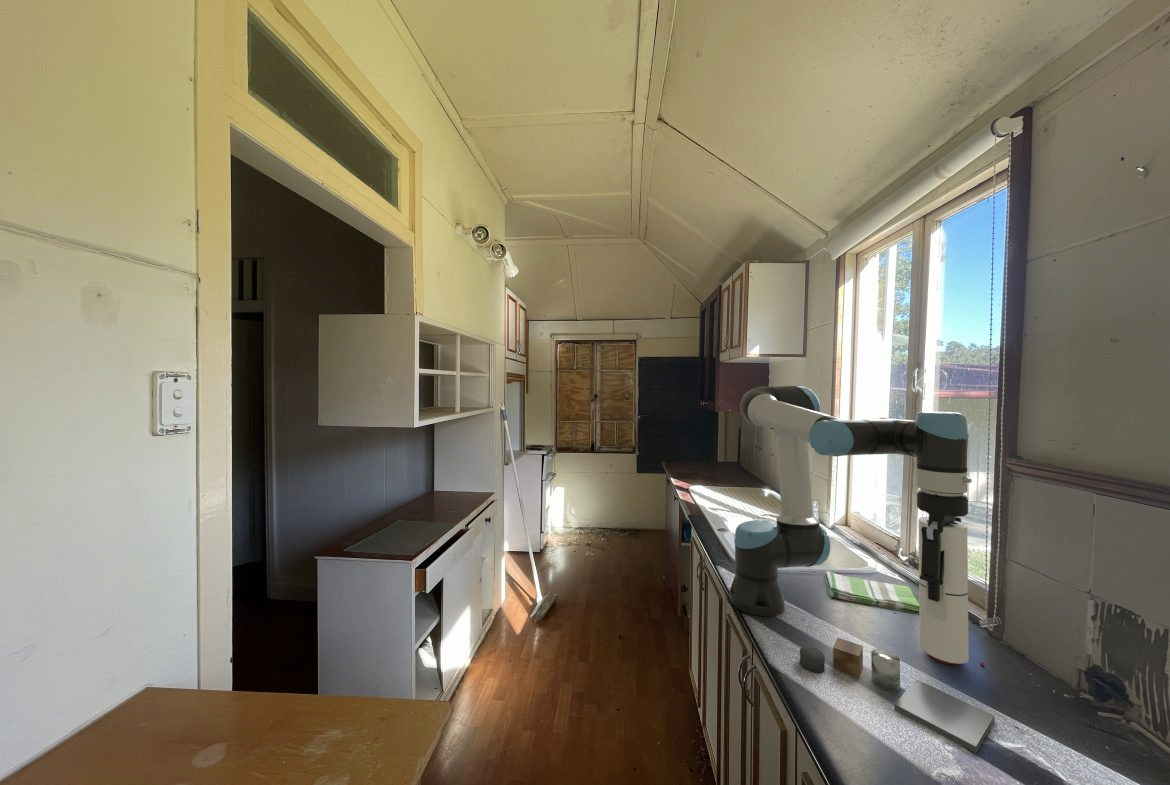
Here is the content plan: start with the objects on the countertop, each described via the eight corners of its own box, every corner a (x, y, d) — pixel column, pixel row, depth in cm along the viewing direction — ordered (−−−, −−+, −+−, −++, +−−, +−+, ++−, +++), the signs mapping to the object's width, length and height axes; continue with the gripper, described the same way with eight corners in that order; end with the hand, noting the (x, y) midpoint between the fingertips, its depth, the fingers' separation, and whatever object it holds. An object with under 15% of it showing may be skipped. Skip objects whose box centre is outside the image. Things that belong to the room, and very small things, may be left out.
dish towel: (824, 576, 141) (824, 566, 141) (908, 590, 131) (908, 579, 131) (829, 600, 126) (829, 588, 126) (924, 617, 116) (924, 604, 116)
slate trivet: (894, 709, 82) (894, 703, 82) (917, 685, 89) (917, 679, 89) (975, 753, 72) (975, 746, 72) (994, 721, 79) (994, 715, 79)
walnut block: (833, 669, 94) (833, 647, 94) (837, 658, 98) (837, 637, 98) (859, 679, 91) (859, 656, 91) (862, 667, 94) (862, 645, 94)
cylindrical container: (919, 653, 80) (918, 523, 80) (919, 636, 85) (918, 514, 85) (970, 668, 75) (968, 531, 75) (967, 649, 81) (965, 521, 81)
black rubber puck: (795, 664, 96) (795, 652, 96) (806, 656, 98) (806, 644, 98) (817, 677, 92) (817, 663, 92) (828, 668, 94) (828, 655, 94)
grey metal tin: (867, 682, 90) (867, 654, 90) (877, 673, 92) (877, 646, 92) (894, 695, 86) (894, 667, 86) (904, 686, 88) (903, 658, 88)
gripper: (949, 504, 71) (950, 637, 71) (982, 487, 83) (983, 602, 83) (897, 495, 78) (899, 617, 78) (935, 481, 89) (936, 588, 89)
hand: (942, 609), depth 80 cm, fingers closed on cylindrical container, 7 cm apart
